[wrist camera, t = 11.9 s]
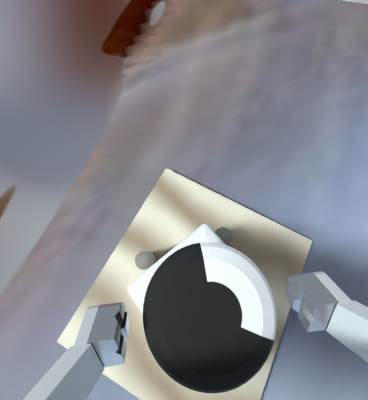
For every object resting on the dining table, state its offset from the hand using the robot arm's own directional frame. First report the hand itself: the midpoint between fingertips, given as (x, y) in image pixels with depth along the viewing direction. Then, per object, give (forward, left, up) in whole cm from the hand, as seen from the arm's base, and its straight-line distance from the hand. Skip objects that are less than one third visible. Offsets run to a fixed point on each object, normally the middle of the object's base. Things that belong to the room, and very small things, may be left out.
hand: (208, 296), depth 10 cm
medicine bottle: (0, 0, -11) cm, 11 cm away
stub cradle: (+1, 0, -12) cm, 12 cm away
